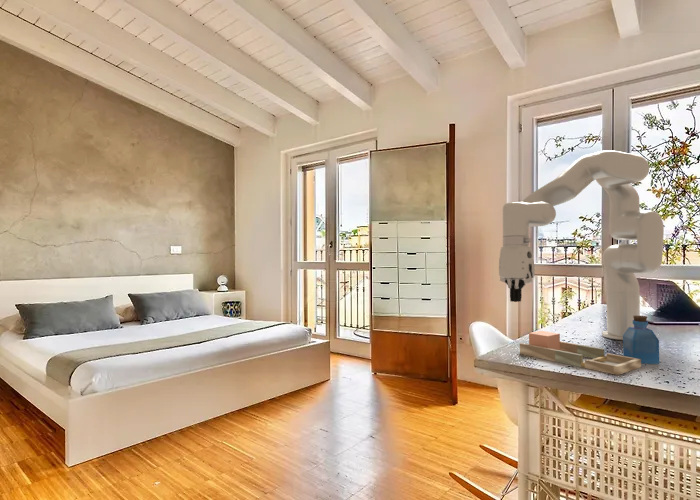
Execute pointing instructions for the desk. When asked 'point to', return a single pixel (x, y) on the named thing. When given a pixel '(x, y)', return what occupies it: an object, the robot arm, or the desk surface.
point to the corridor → (576, 352)
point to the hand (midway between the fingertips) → (515, 301)
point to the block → (545, 339)
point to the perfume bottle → (641, 342)
